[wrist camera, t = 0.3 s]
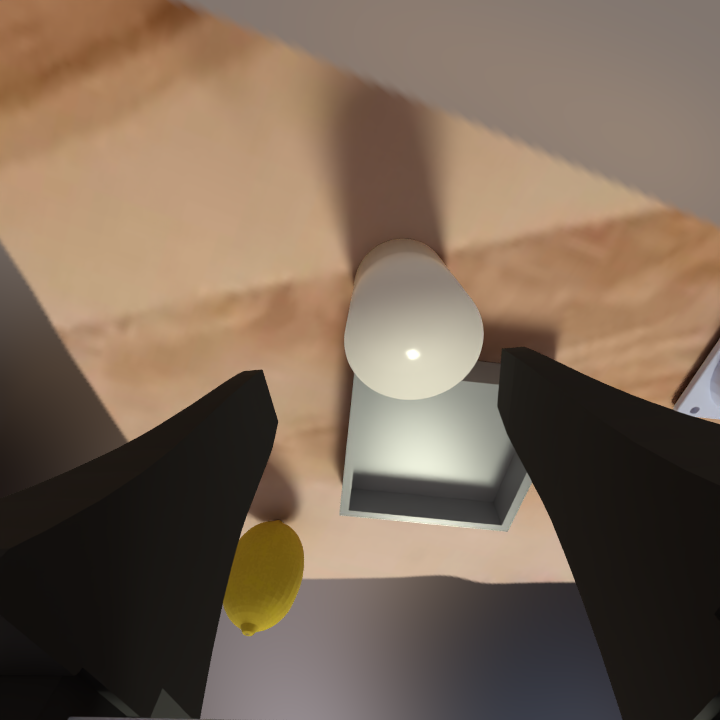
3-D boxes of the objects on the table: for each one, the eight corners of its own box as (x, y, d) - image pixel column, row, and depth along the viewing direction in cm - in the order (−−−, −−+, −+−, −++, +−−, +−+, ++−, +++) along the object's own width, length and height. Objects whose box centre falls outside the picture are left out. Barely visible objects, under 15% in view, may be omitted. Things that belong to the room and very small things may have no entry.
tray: (554, 369, 20) (576, 392, 18) (496, 501, 26) (507, 531, 24) (356, 348, 20) (354, 369, 18) (342, 486, 26) (339, 515, 24)
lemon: (245, 495, 27) (200, 607, 20) (314, 504, 27) (293, 618, 20) (246, 537, 30) (206, 649, 23) (309, 545, 30) (289, 659, 23)
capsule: (456, 244, 17) (501, 283, 11) (436, 333, 20) (464, 406, 14) (359, 233, 17) (350, 267, 11) (350, 324, 20) (339, 392, 14)
